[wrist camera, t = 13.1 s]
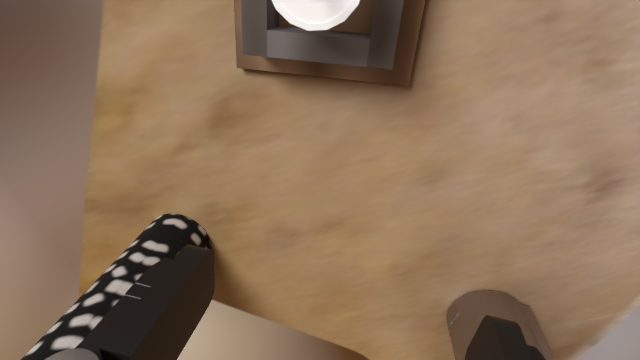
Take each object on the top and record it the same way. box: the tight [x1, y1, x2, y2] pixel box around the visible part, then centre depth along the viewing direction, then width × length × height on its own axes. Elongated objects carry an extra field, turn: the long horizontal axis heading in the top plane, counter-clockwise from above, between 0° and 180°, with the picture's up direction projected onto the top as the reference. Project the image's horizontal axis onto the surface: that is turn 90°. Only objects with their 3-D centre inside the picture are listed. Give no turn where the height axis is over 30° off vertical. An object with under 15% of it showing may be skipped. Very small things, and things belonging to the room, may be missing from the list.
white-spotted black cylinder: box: [21, 214, 211, 360], centre depth 37 cm, size 8×8×20 cm
